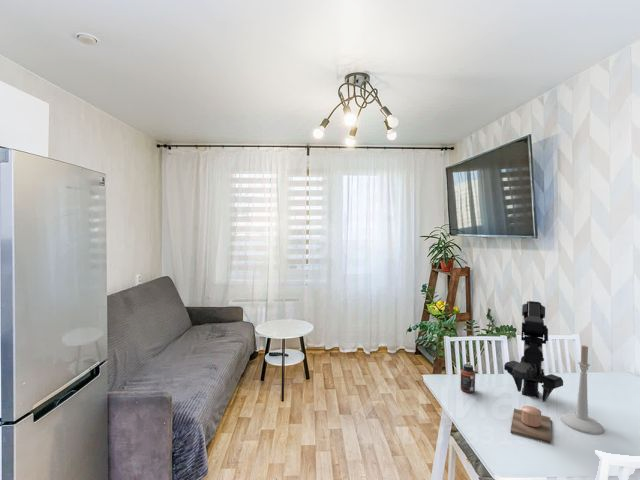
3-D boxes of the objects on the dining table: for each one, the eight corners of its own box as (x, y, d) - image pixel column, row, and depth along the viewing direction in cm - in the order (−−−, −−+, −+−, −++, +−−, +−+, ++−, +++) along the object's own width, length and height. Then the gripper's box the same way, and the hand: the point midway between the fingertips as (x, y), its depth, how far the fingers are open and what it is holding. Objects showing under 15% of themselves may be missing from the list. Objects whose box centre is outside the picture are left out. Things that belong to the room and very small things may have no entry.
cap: (521, 415, 136) (522, 404, 136) (540, 420, 133) (541, 408, 132) (520, 423, 131) (521, 411, 130) (540, 428, 127) (541, 416, 127)
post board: (514, 410, 142) (514, 397, 142) (549, 419, 136) (550, 405, 136) (510, 432, 127) (510, 417, 127) (550, 443, 121) (551, 427, 121)
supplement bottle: (476, 394, 157) (476, 368, 156) (461, 392, 158) (462, 367, 157) (473, 387, 163) (473, 363, 162) (459, 386, 164) (459, 362, 163)
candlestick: (568, 430, 129) (572, 348, 128) (555, 413, 141) (558, 338, 140) (610, 436, 125) (614, 352, 124) (593, 418, 138) (596, 341, 137)
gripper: (495, 350, 135) (494, 390, 136) (546, 367, 119) (544, 413, 120) (514, 345, 141) (512, 384, 141) (564, 362, 124) (563, 406, 125)
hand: (531, 396), depth 132 cm, fingers open, 9 cm apart
